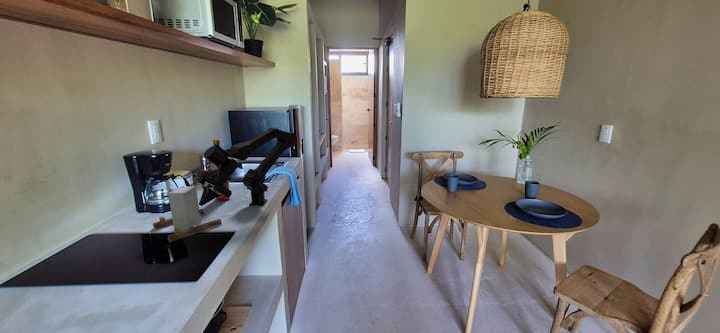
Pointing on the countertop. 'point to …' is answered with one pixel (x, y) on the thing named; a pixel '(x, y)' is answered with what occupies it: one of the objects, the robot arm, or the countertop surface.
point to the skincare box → (184, 208)
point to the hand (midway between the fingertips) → (200, 205)
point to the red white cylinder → (213, 167)
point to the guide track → (187, 232)
